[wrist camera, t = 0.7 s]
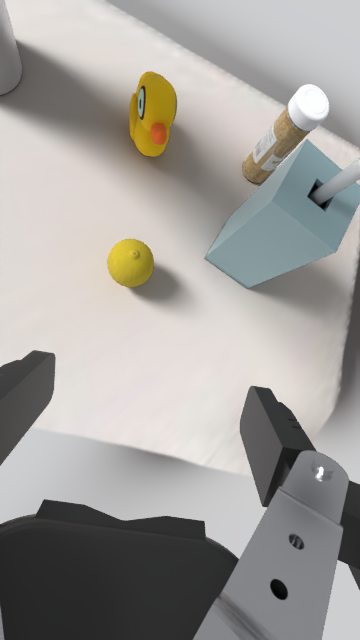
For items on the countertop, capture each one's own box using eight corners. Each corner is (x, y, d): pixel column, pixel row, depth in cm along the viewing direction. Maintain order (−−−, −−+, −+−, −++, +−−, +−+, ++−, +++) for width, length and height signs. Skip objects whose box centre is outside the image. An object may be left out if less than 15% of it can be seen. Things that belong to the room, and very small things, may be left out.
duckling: (168, 182, 41) (188, 132, 32) (130, 179, 40) (141, 125, 30) (162, 109, 42) (180, 39, 33) (125, 103, 41) (133, 28, 31)
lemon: (109, 248, 38) (112, 223, 30) (150, 257, 39) (162, 234, 32) (103, 288, 37) (105, 273, 30) (145, 295, 39) (156, 282, 31)
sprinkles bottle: (259, 189, 46) (323, 127, 33) (236, 173, 45) (292, 101, 32) (270, 168, 47) (336, 99, 34) (248, 151, 46) (306, 74, 33)
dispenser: (246, 288, 43) (336, 252, 27) (204, 258, 42) (271, 200, 25) (268, 247, 45) (365, 190, 29) (229, 217, 44) (306, 138, 27)
